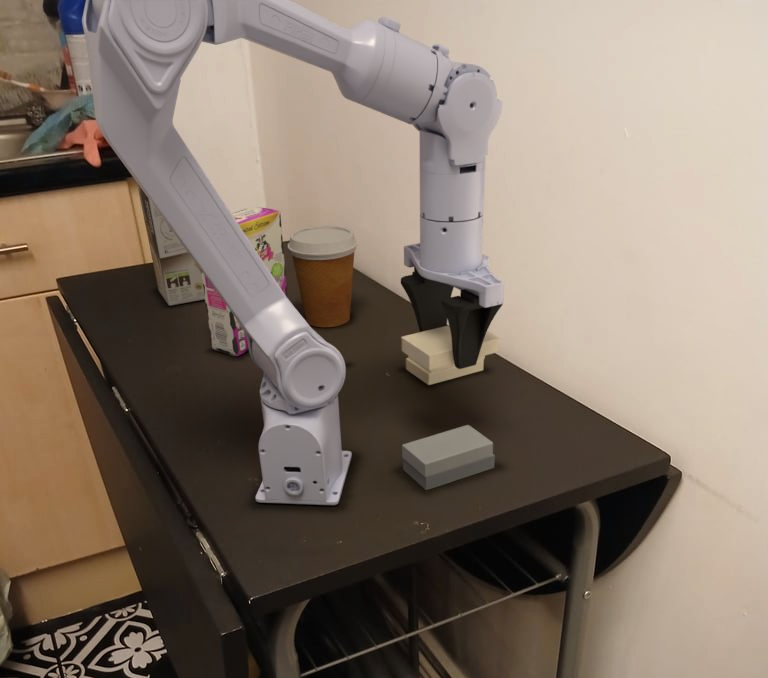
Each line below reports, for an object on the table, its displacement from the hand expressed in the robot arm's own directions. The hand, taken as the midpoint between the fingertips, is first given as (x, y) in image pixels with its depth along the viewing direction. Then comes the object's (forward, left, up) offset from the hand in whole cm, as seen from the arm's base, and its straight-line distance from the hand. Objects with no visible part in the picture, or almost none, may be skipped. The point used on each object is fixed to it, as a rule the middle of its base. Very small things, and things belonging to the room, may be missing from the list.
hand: (449, 355), depth 79 cm
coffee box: (+44, +44, -10) cm, 63 cm away
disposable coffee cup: (+34, +19, -10) cm, 40 cm away
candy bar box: (+26, +28, -10) cm, 39 cm away
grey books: (-6, 0, -9) cm, 11 cm away
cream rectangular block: (0, 0, 0) cm, 0 cm away
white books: (+17, +1, -9) cm, 20 cm away
